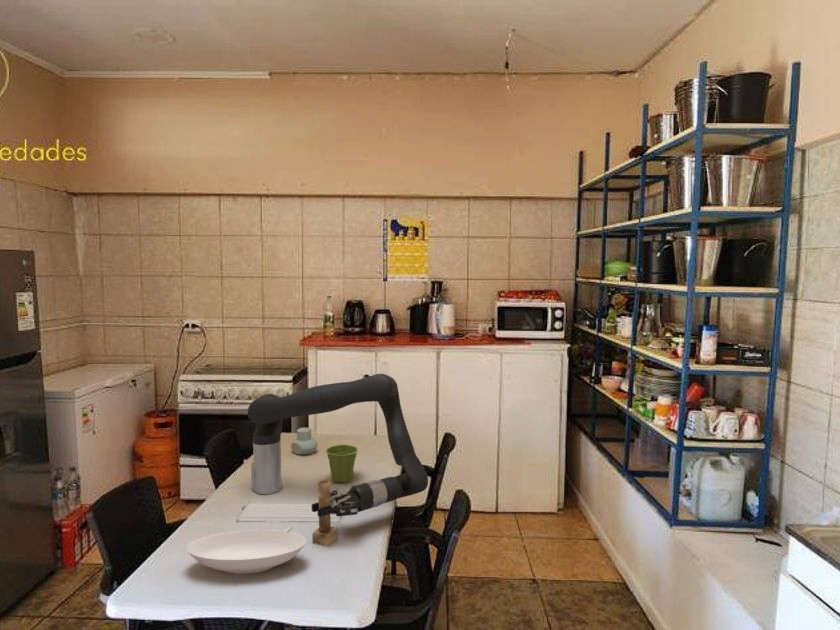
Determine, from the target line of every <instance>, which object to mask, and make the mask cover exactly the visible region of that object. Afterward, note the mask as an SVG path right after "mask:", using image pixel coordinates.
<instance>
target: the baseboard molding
mask: <svg viewBox="0 0 840 630" xmlns="http://www.w3.org/2000/svg"><path fill="white" fill-rule="evenodd" d="M312 504H313V503H250V501H248V502H247V505H244V506H243V507H242V508H241V512H240V514H238V515H237V517H239V518H236V523H241V522H242V523H243V522H244V523H267V522H266V521H281V522H280V523H319V516H318V515H317V511H316V512H313V511H312ZM330 518H331V523H340V522H341V520H342V519H341V518H342V516H336V514H334V515H332V514H330ZM282 521H284V522H282ZM286 521H288V522H286Z"/></svg>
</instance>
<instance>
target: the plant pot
mask: <svg viewBox="0 0 840 630" xmlns="http://www.w3.org/2000/svg"><path fill="white" fill-rule="evenodd" d="M358 452H359V448H358V447H357V446H356V445H352V444H335V445H334V444H333V445H331V446H329V447H326V448H325V453H326V454H327V459H328V461H329V462H328V463H329V469H330V476H331V480H332V481H333V482H335V483H337V484H338V483H347V482H348V483H349V482H350V481H352V479H353V473H354V468H355V467H354V466H355V461H356V458H357V453H358Z"/></svg>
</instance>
